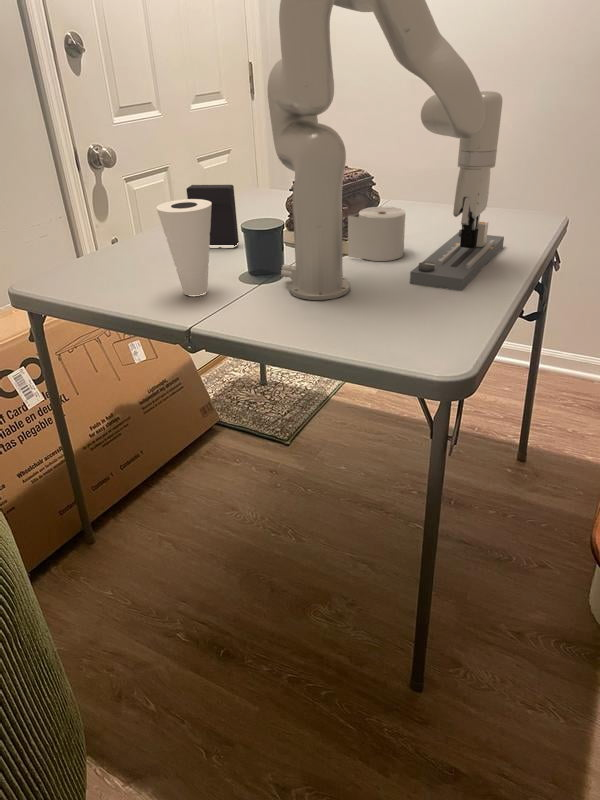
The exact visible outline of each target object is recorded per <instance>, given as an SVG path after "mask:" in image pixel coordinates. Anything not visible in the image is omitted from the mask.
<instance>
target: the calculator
mask: <svg viewBox="0 0 600 800" xmlns="http://www.w3.org/2000/svg"><path fill="white" fill-rule="evenodd" d="M186 197H187V198H186V199H202V200H207V201H210V202H211V203H212V205H211V227H210V245H234V246H235V245H237V243H238V242H239V243H240V241H239V231H238V230H239V229H238V219H237V210H236V209H237V208H236V207H237V206H236V200H235V199H236V198H235V188H234V185H233V184H191V185H190V186H188V187H187V188H186Z"/></svg>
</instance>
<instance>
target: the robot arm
mask: <svg viewBox="0 0 600 800" xmlns="http://www.w3.org/2000/svg"><path fill="white" fill-rule="evenodd" d="M333 6H336V7H339V8H342V9H347V10H351V11H354V12H360V13H373V15H374V16H375V18H376V20H377V23H378V24H379V27H380V29H381V30H382V32H383V35H384V38H385V39H386V41H387V43H388V46H389V47H390V49H391V52H392V54H393V57H394V58H395V60H396V61H397V62H398V63H399V64H400V65H401V66H403V68H404V69H406V70H407V71H408V72H410V73H411V74H413V75H415V76H416V77H418V78H419V79H421V80H422V81H423V82H424V83H425V84H426V85H427V86H428V87H429V88H430V89H431V90H432V92H433V93H434V95H432V96H430V97H429V98H427V99H426V101H424V103H423V105H422V107H421V110H420V120H421V121H420V122H421V123H422V125H423V127H424V128H425V129H427V131H429V132H430V133H433V134H435V135H440V136H444V137H451V138H456V139H459V143H458V144H459V146H458V159H457V167H458V168H459V171H458V176H457V182H456V188H455V193H454V194H455V195H454V202H453V203H454V204H453V211H452V213H453V214H452V215H453V216H454V217H455V218H457V217H459V216H460V215H461V214H462V215H461V222H460V223H461V224H460V225H461V229H462V230H461V229H460V230H461V241H460V247H464V248H475V247H476V245H477V236H478V226H479V221H480V219H481V215H482V213H483V212H484V211H485V210H486V209H487V207H488V200H489V192H490V184H491V183H490V180H491V169H493V168H495V167H496V163H497V162H496V161H497V155H498V141H499V136H500V127H501V117H502V109H503V96H502V94H501V93H499V92H498V91H481V90H480V87H479V85H478V82H477V80H476V79H475V76H474V74H473V72H472V71H471V69H470V67H469V66H468V64H467V63H466V62H465V60H464V59H463V58H462V57H461V56H460V54H459V53H458V52H457V51H456V50H455V48H454V47H453V46H452V45H451V44H450V43H449V41H447V39H446V38H445V37H444V36H443V35H442V34H441V32H440V30H439V29H438V26H437V24H436V22H435V19H434V17H433V14H432V13H431V10H430V8H429V5H428V3H427V1H426V0H280V3H279V12H278V15H279V16H278V25H279V27H278V28H279V40H280V41H279V42H280V53H281V58H280V59H279V60H278V61H276V63H275V64H274V65H273V67H272V69H271V70H270V72H269V75H268V81H267V90H266V91H267V100H268V109H269V117H270V126H271V132H272V138H273V139H272V140H273V145H274V149H275V152H276V155H277V158H278V160H279V161H280V162H281V164H282V165H284V167H286V168H287V169H288V170H290V171H293V172H294V183H293V188H292V217H293V218H292V219H293V236H294V257H295V258H294V259H295V262H294V263H295V266H294V265H292V264H287V263H286V264H282V266H281V271H280V276H281V277H282V278H283V277H284V278H290V279H291V282H290V283H289V285H288V290H289V293H290V294H291V295H292V296H294V297H295V298H299V299H304V300H311V301H325V300H326V301H327V300H332V299H337V298H340V297H342V296H345V295H346V294H348V292H349V291H350V290H351V283H350V281H349V280H348V279H347V278H345V277H343V272H344V271H343V184H344V177H345V176H344V175H345V169H346V162H347V158H346V157H347V153H346V152H347V151H346V147H345V143H344V141H343V139H342V137H341V136H340V135H339V132H337V131H336V130H335V129H333V128H332V127H331V126H328V125H326V124H323V123H320V122H319V120H318V116H319V115H321V114H323V113H324V112H326V111H327V110H328V109H329V108H330V106H331V105H332V103H333V100H334V95H335V80H334V71H333V59H332V58H333V57H332V48H331V29H330V27H331V15H332V14H331V13H332V9H333Z"/></svg>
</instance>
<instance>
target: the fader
mask: <svg viewBox="0 0 600 800" xmlns="http://www.w3.org/2000/svg"><path fill="white" fill-rule="evenodd" d="M488 230H489V221H481V220H479V226H478V236H477V245H476V246H478V247H484V246H485V245H486V240H487V235H488V232H489V231H488Z"/></svg>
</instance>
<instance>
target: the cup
mask: <svg viewBox="0 0 600 800" xmlns="http://www.w3.org/2000/svg"><path fill="white" fill-rule="evenodd" d="M211 205H212V203H211V202H210V201H207V200H202V199H188V198H186V199H184V198H183V199H174V200H171V201H166V202H163V203H160V204H158V205H157V206H156V211H157V215H158V217H159V221H160V223H161V226H162V230H163V232H164V233H163V234H164V235H165V237H166V241H167V244H168V248H169V251H170V254H171V257H172V261H173V263H174V264H173V265H174V267H175V268H176V272H177V276H178V280H179V282H180V285H181V289H182V292H183V295H184V294H186V295H200V294H203V293H205V292H207V293H208V287H209V286H208V285H209V283H208V282H209V262H210V248H209V245H210V227H211Z"/></svg>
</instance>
